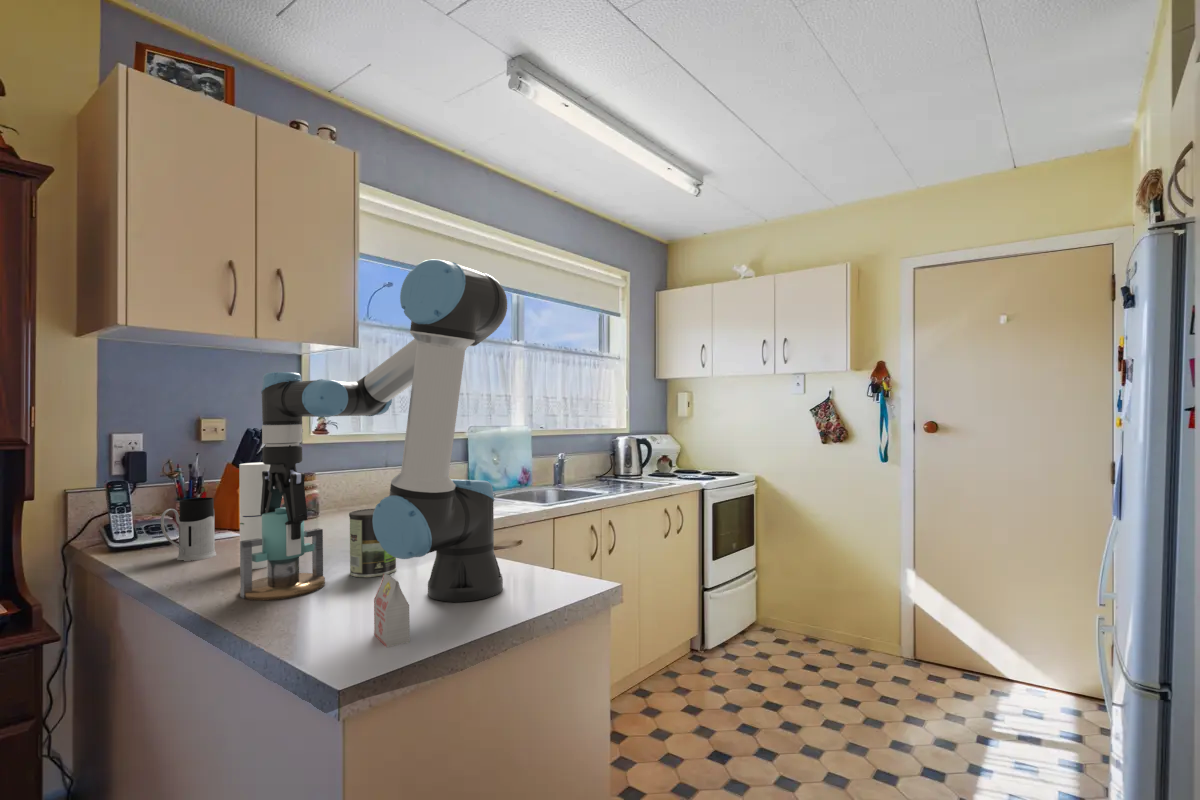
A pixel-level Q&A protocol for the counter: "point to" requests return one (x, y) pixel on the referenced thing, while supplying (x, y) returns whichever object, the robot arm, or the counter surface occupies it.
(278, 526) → the teal plastic cylinder
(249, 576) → the post fixture
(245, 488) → the cylindrical container
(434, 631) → the counter surface
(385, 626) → the milk carton
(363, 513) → the coffee can
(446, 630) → the counter surface
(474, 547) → the robot arm
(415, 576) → the counter surface
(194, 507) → the white and black mug
